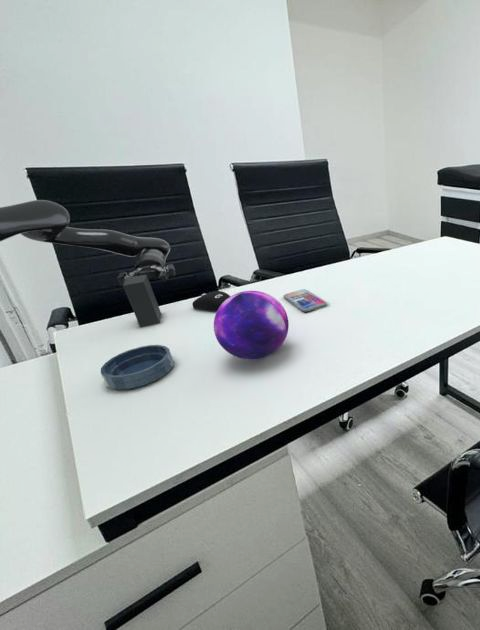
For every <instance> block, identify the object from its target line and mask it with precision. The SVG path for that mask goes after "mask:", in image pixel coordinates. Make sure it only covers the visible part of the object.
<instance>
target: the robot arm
mask: <svg viewBox="0 0 480 630" xmlns="http://www.w3.org/2000/svg"><path fill="white" fill-rule="evenodd" d="M70 221H71V216H70V213H69V211H68V210H67V209H66V208H65V207H64V206H63V205H61V204H59V203H57V202H55V201H51V200H46V199H35V200H34V199H33V200H29V201H24V202H21V203H15V204H11V205H6V206H0V243H1V242H4V241H5V240H8V239H10V238H13V237H15V236H17V235H21V236H22V237H24V238H27V239H28V240H32V241H36V242H39V243H41V242H42V243H49V244H56V245H57V244H58V245H66V246H73V247H80V248H81V247H82V248H87V249H88V248H89V249H95V250H101V251H106V252H109V253H113V254H117V255H121V256H125V257H131V258H133V257H137V256H138V255H139V254H140V253H141V254H140V256H139V257H138V259H137V260H136V262H135V265H134V270H133V271H131V272H128V273H127V272H126V271H121V272H120V273H119V274H118V276H116V278H117V282H118V284H119V286H121V287H123V284H124V282H125V280H126V278H129V277H135V276H140V275H147V277H148V280H149V282H155V281H158V280H160V281H161V282H162V283H165V282H166V281H167V280H168V279H169V277H172V278H173V277H176V270H175V269H176V268H175V266H174V264H173V263H168V265H166V259H167V258H168V255H169V253H170V251H171V246H170V243H168V242H167V241H166V240H164V239H162V238H158V237H143V236H134V235H131V234H127V233H124V232H121V231H117V230H112V229H96V228H94V229H92V228H78V227H77V228H76V227H70V226H69V224H70Z"/></svg>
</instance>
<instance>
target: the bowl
mask: <svg viewBox="0 0 480 630" xmlns="http://www.w3.org/2000/svg"><path fill="white" fill-rule="evenodd" d="M174 366H175V361H174V358H173V355H172V353H171V350H170V348H169V347H168V346H166V345H163V344H149V345H143V346H138V347H134V348H131V349H129V350H125V351H123V352H121V353H119V354H116V356H113V357H111V358H110V359H109V360H107V361H106V362H105V363H104V364H103V365H102V366H101V368H100V375H101V376H102V379H103V381H104V383H105V384H106V386H107V387H108V388H109V389H112V390H130V389H135V388H139V387H143V386H145V385H148V384H150V383H153V382H156V381H157V380H158V379H160V378H163V376H165V375H166V374H168V373H169V372H170V371H171V370H172V368H173V367H174Z"/></svg>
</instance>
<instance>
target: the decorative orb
mask: <svg viewBox="0 0 480 630" xmlns="http://www.w3.org/2000/svg"><path fill="white" fill-rule="evenodd" d="M230 296H231V297H229V298H228V299H226V300H225V301H224V302H223V303H222V304H221V306H220V307H219V308H218V310H217V311H215V316H214V318H213V332H214V336H215V338H216V340H217V342H218V344H219V345H220V346H221V348H222V349H223V350H224V351H225V352H227V353H228V354H230V355H232V356H233V357H236V358H239V359H241V360H259V359H262V358H266V357H268V356H270V355H272V354H273V353H275V352H276V351H277V350H278V349H279V348H280V347H281V346H282V345H283V343H284V342H285V340H286V338H287V337H288V333H289V323H290V321H289V316H288V313H287V311H286V309H285V307H284V306H283V304H282V303H281V302H280V301H279V300H278V299H277V298H276V297H274V296H272V295H271V294H269V293H267V292H263V291H261V290H260V291H259V290H243V291H240V292H236V293H234V294H232V295H230Z"/></svg>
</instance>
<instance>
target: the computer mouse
mask: <svg viewBox="0 0 480 630" xmlns="http://www.w3.org/2000/svg"><path fill="white" fill-rule="evenodd" d="M231 296H232V295H230V294H228V293H227V292H225V291H222V290H213V291H210V292H207V293H206V292H205V293H201V295H200V296H199V297H197V298H196V299H194V301H193V302H192V303H191V304H192V308H193V309H195V310H198V311H199V310H200V311H206V312H217V310H218V308H219V307H220V306H221V304H222V303H223V302H224V301H225V300H226V299H228V298H229V297H231Z"/></svg>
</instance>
